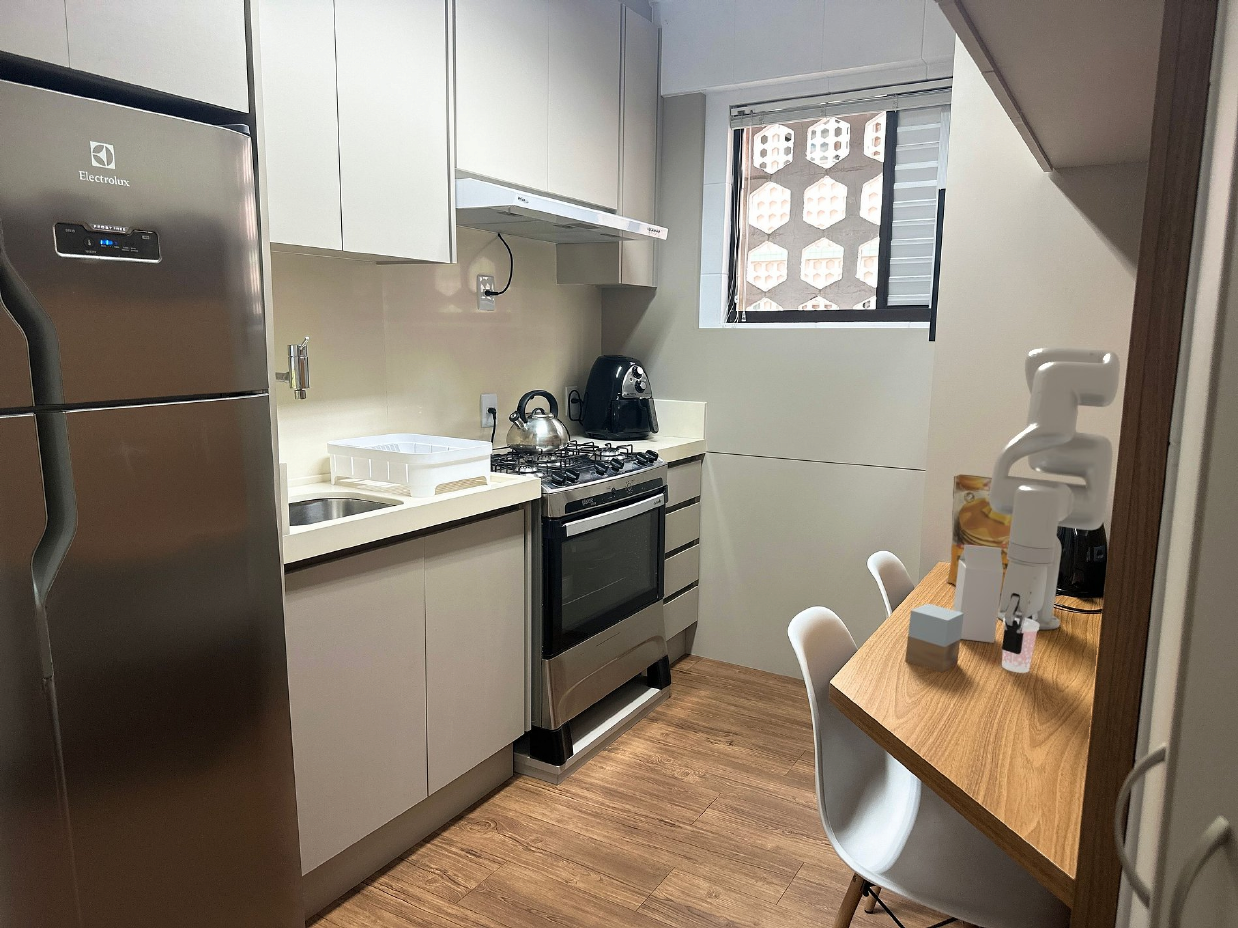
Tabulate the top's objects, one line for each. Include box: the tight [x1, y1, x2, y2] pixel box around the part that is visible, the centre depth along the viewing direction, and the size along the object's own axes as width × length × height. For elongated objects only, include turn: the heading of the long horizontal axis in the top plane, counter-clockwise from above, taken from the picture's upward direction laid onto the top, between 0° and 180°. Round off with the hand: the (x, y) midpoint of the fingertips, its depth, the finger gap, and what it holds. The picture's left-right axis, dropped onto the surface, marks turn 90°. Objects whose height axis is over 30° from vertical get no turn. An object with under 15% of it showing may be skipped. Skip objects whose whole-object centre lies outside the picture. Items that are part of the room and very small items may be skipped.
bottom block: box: [904, 635, 961, 673], centre depth 157 cm, size 7×7×5 cm
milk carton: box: [952, 545, 1003, 644], centre depth 172 cm, size 7×7×19 cm
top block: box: [907, 602, 964, 647], centre depth 156 cm, size 7×7×5 cm
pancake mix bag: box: [946, 474, 1012, 594], centre depth 208 cm, size 7×19×28 cm, turn 55°
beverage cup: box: [1001, 613, 1040, 674], centre depth 155 cm, size 6×6×14 cm
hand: (1018, 646), depth 155 cm, fingers closed on beverage cup, 6 cm apart
